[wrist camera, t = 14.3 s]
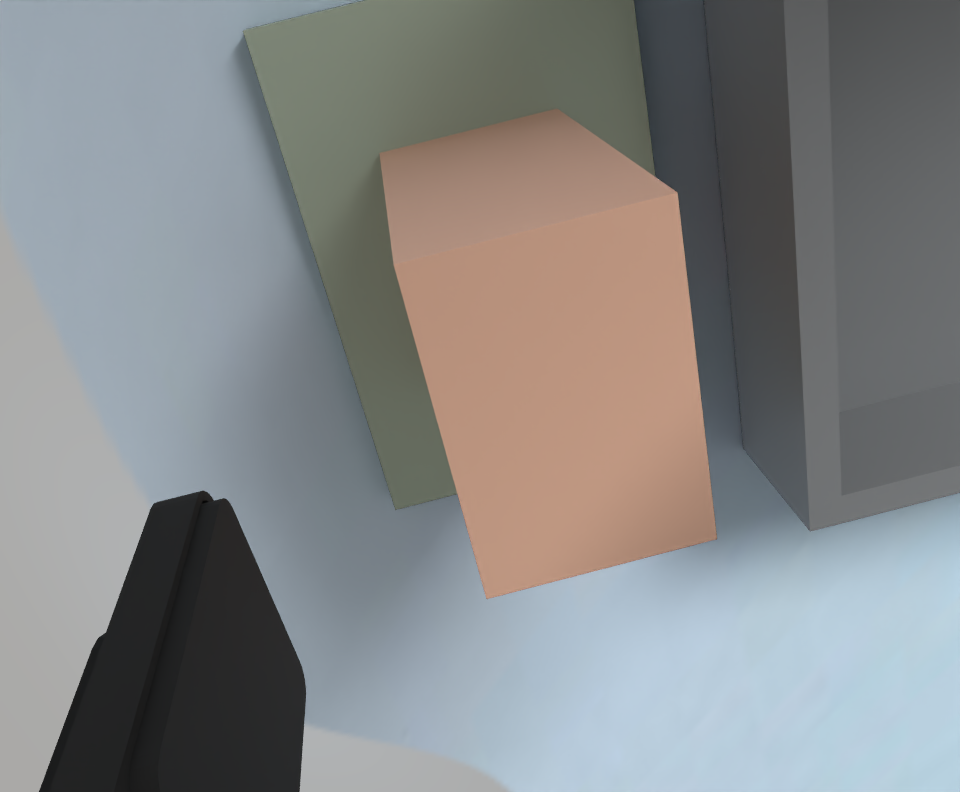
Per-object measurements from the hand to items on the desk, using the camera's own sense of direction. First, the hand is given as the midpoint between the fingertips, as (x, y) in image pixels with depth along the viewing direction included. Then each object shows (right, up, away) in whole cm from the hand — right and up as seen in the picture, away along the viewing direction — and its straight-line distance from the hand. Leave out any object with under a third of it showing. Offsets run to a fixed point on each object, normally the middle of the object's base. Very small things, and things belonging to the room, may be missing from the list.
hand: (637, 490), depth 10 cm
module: (-1, +4, +10) cm, 11 cm away
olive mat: (-2, +5, +11) cm, 12 cm away
